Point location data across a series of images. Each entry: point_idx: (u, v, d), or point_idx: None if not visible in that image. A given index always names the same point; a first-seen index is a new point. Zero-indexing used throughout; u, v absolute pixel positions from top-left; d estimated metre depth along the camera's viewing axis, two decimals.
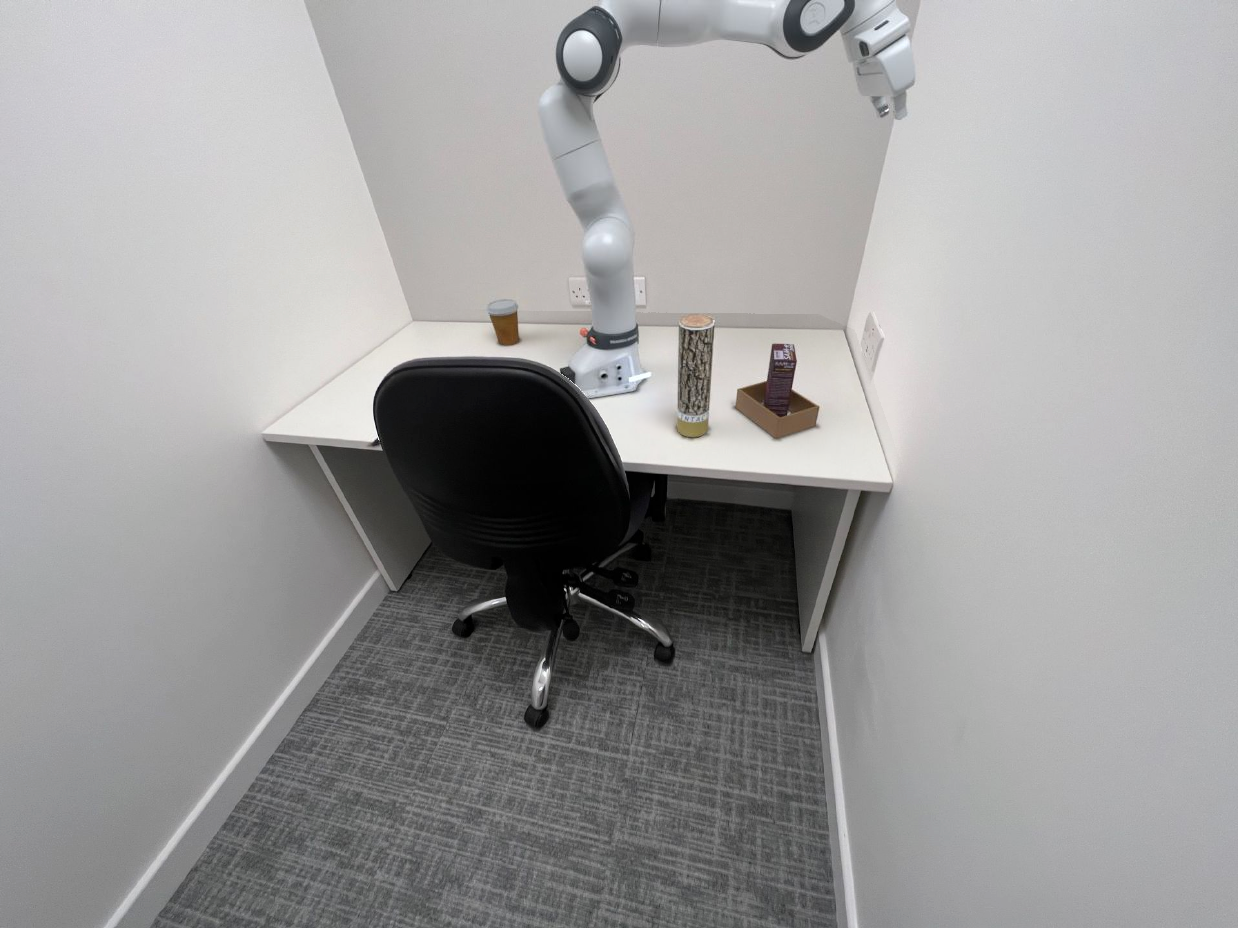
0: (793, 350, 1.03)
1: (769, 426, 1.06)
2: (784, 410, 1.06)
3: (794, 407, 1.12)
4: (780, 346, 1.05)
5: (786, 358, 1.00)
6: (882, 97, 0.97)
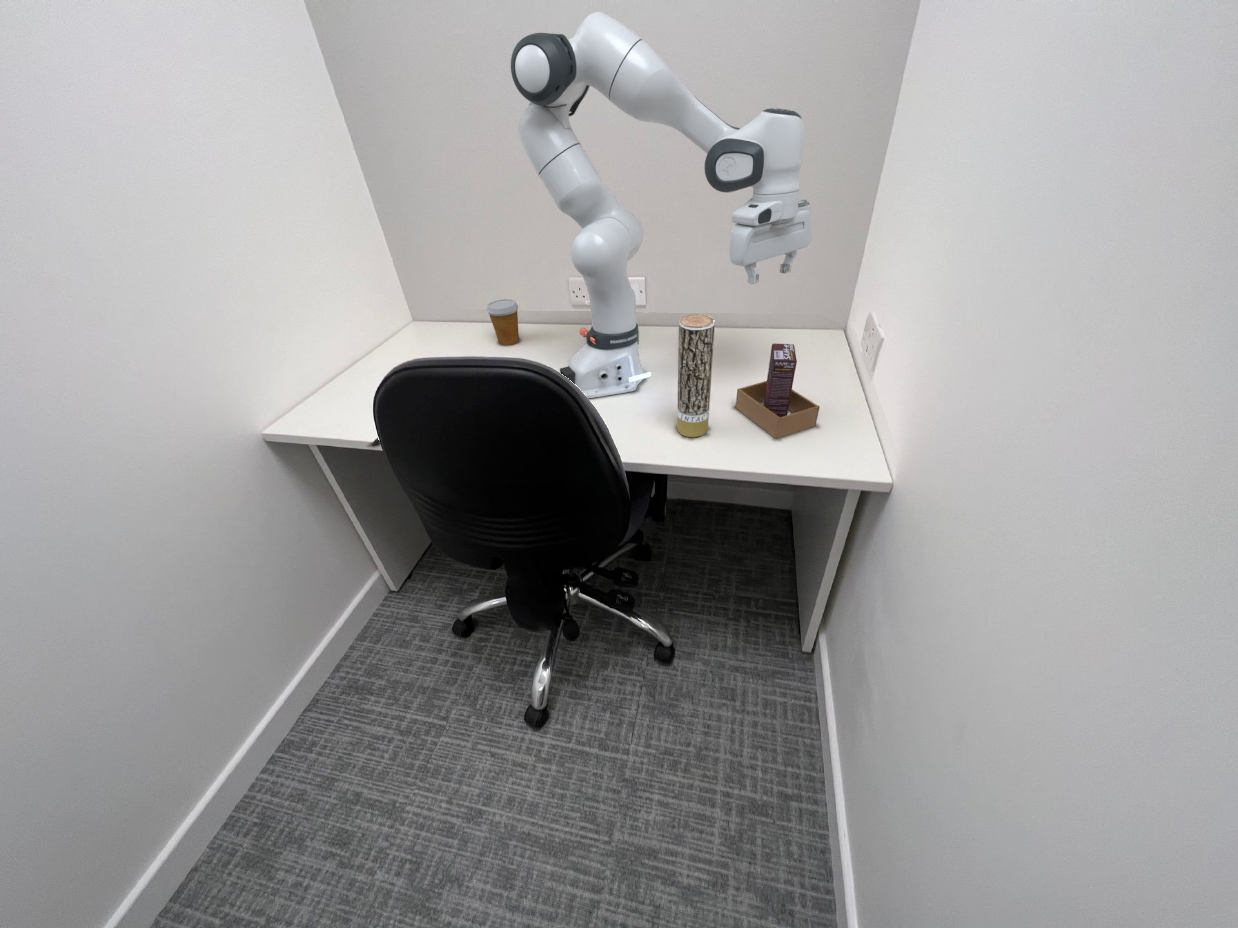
0: (793, 350, 1.03)
1: (769, 426, 1.06)
2: (784, 410, 1.06)
3: (794, 407, 1.12)
4: (780, 346, 1.05)
5: (786, 358, 1.00)
6: (791, 258, 1.07)
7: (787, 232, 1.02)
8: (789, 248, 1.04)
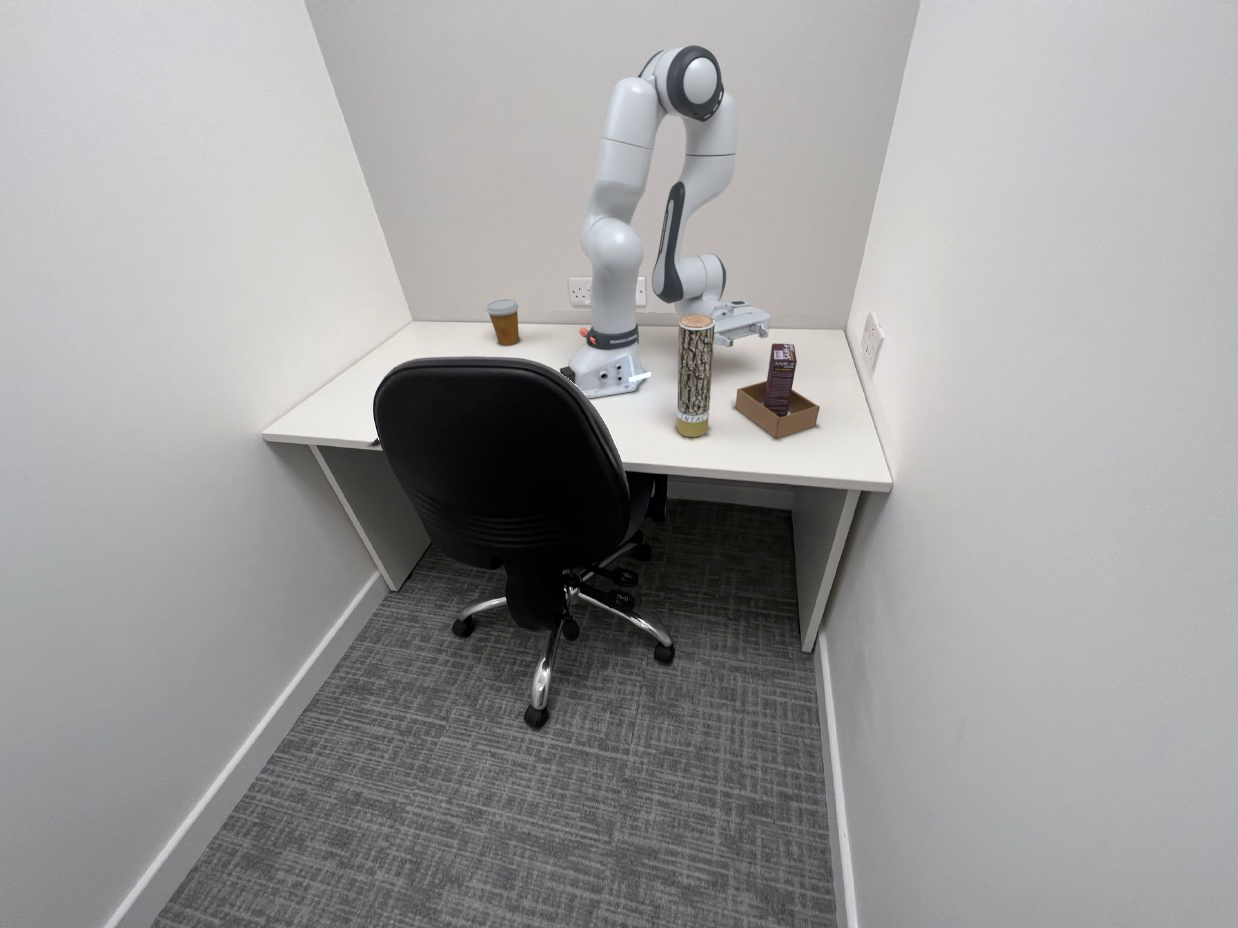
0: (793, 350, 1.03)
1: (769, 426, 1.06)
2: (784, 410, 1.06)
3: (794, 407, 1.12)
4: (780, 346, 1.05)
5: (786, 358, 1.00)
6: None
7: None
8: None
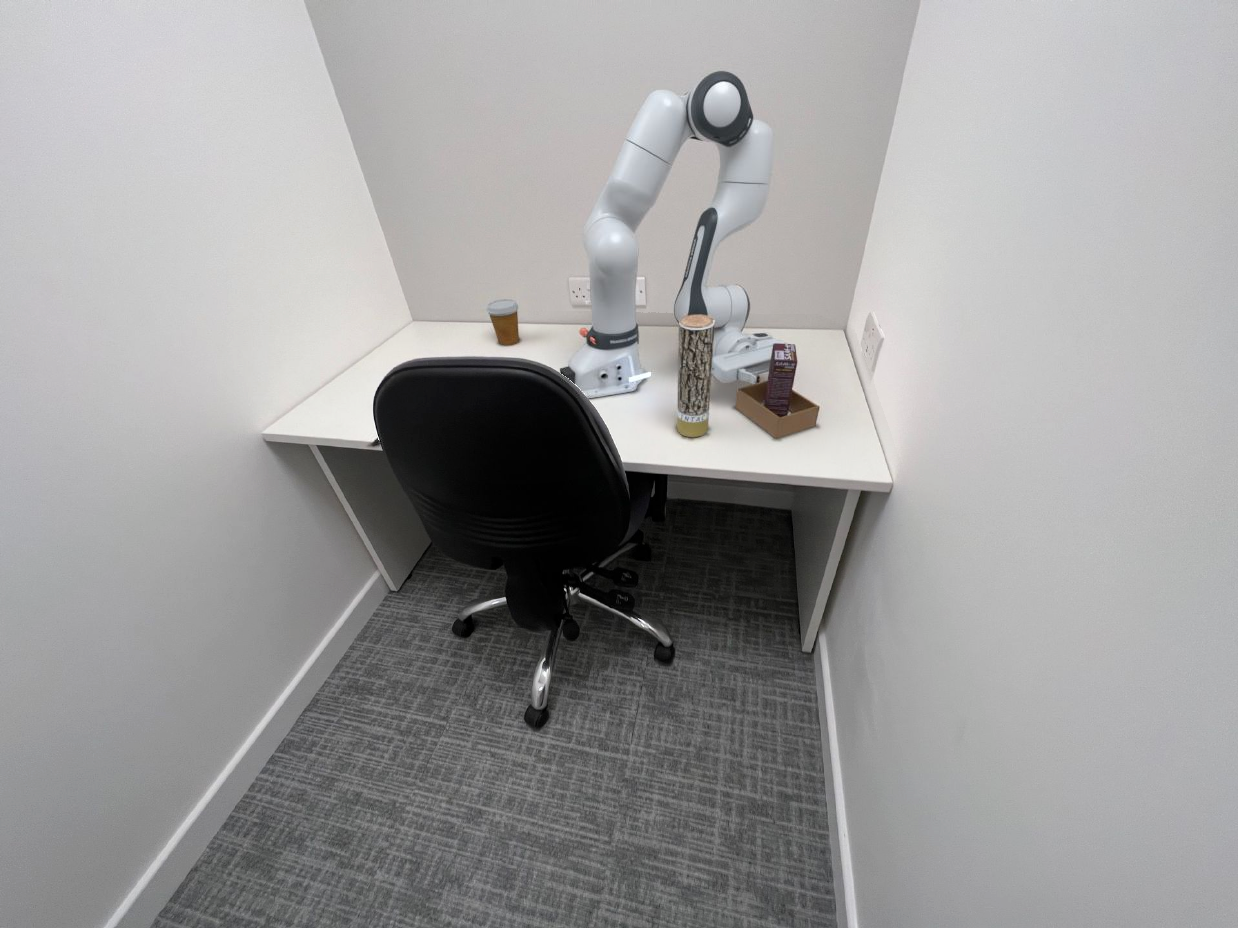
0: (794, 350, 1.03)
1: (769, 426, 1.06)
2: (784, 410, 1.06)
3: (794, 407, 1.12)
4: (781, 346, 1.05)
5: (787, 358, 1.00)
6: None
7: None
8: None
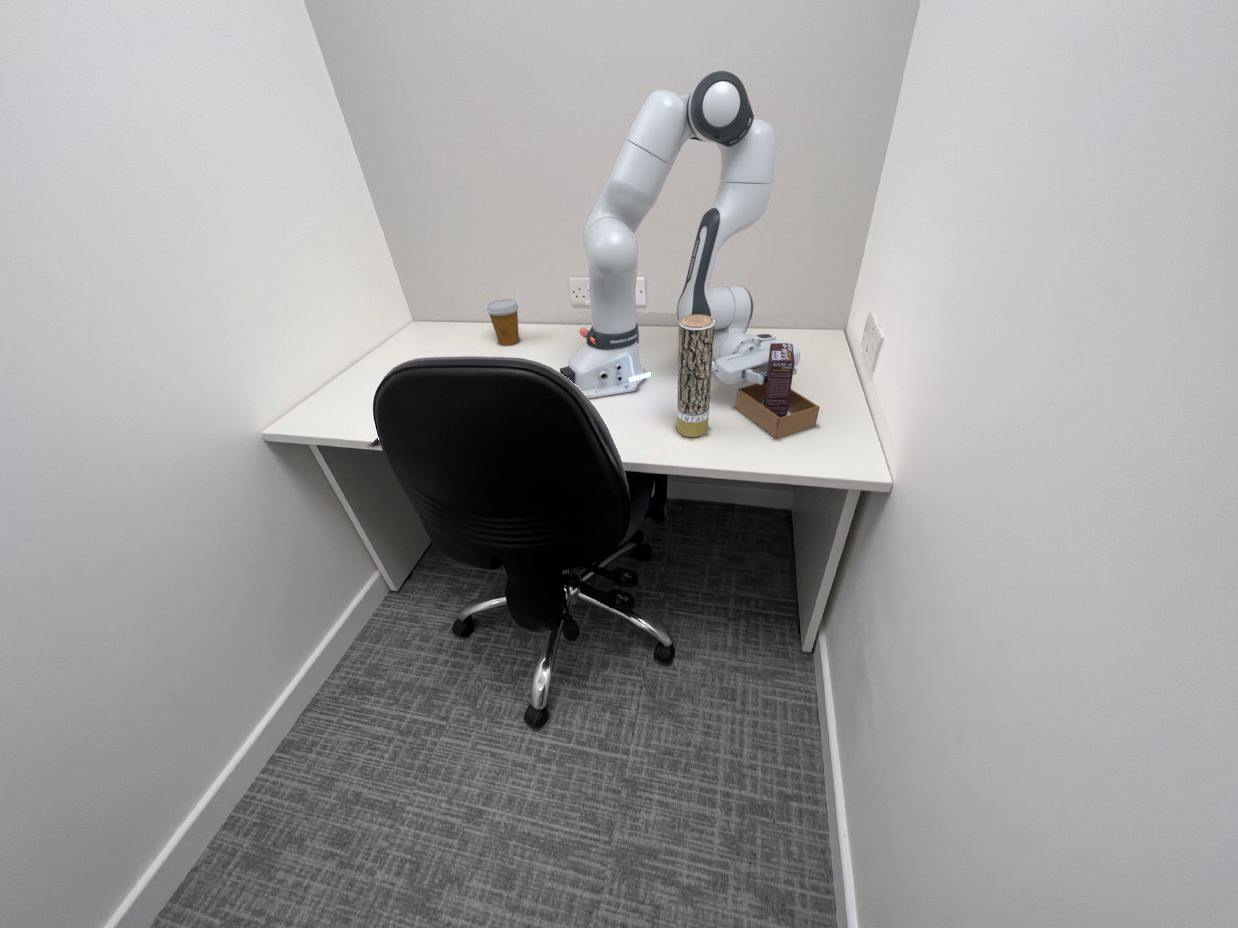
0: (791, 350, 1.03)
1: (769, 426, 1.06)
2: (784, 410, 1.06)
3: (794, 407, 1.12)
4: (778, 346, 1.04)
5: (784, 358, 1.00)
6: None
7: None
8: None
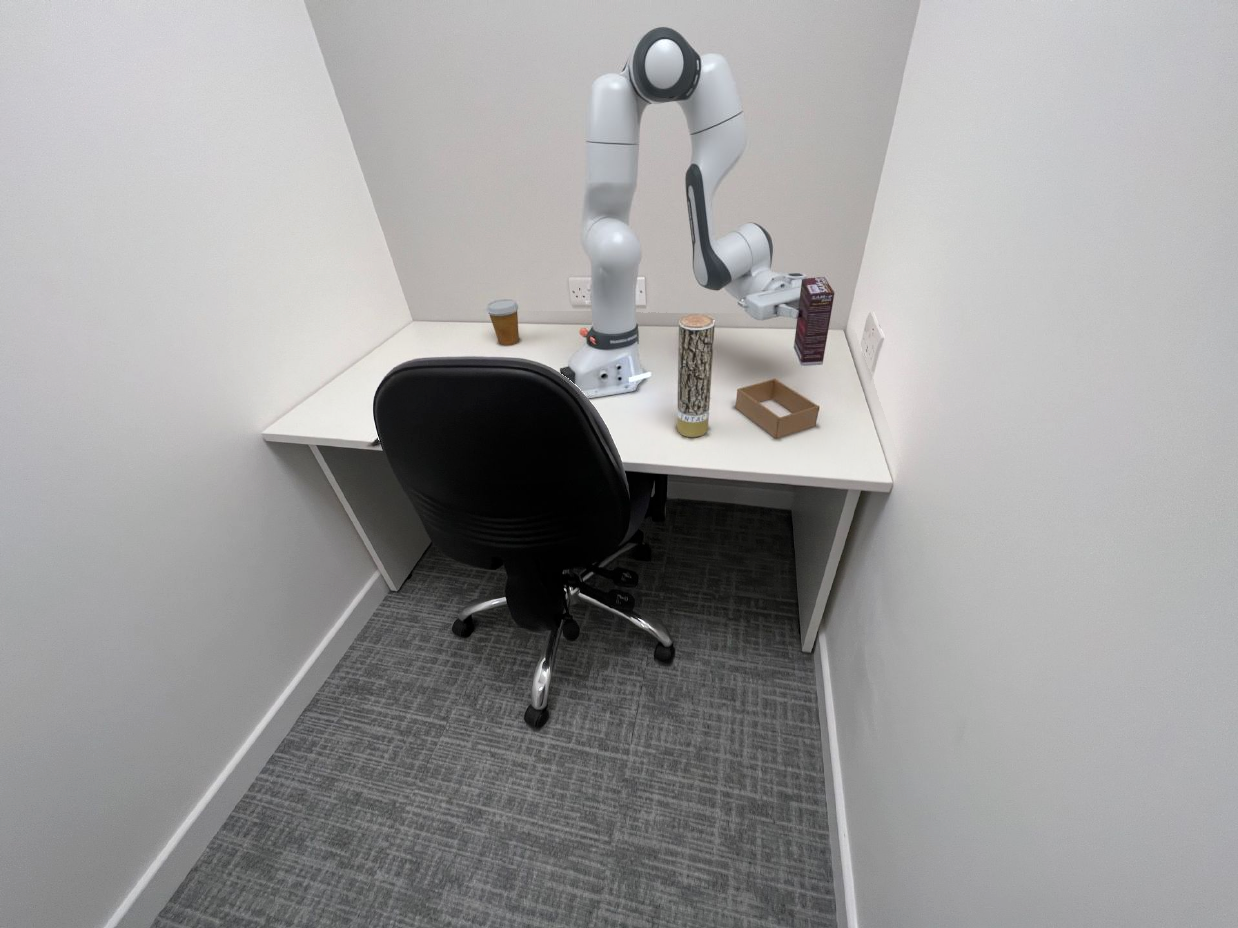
0: (826, 283, 0.99)
1: (769, 426, 1.06)
2: (822, 346, 1.03)
3: (794, 407, 1.12)
4: (811, 281, 1.01)
5: (823, 291, 0.96)
6: None
7: None
8: None
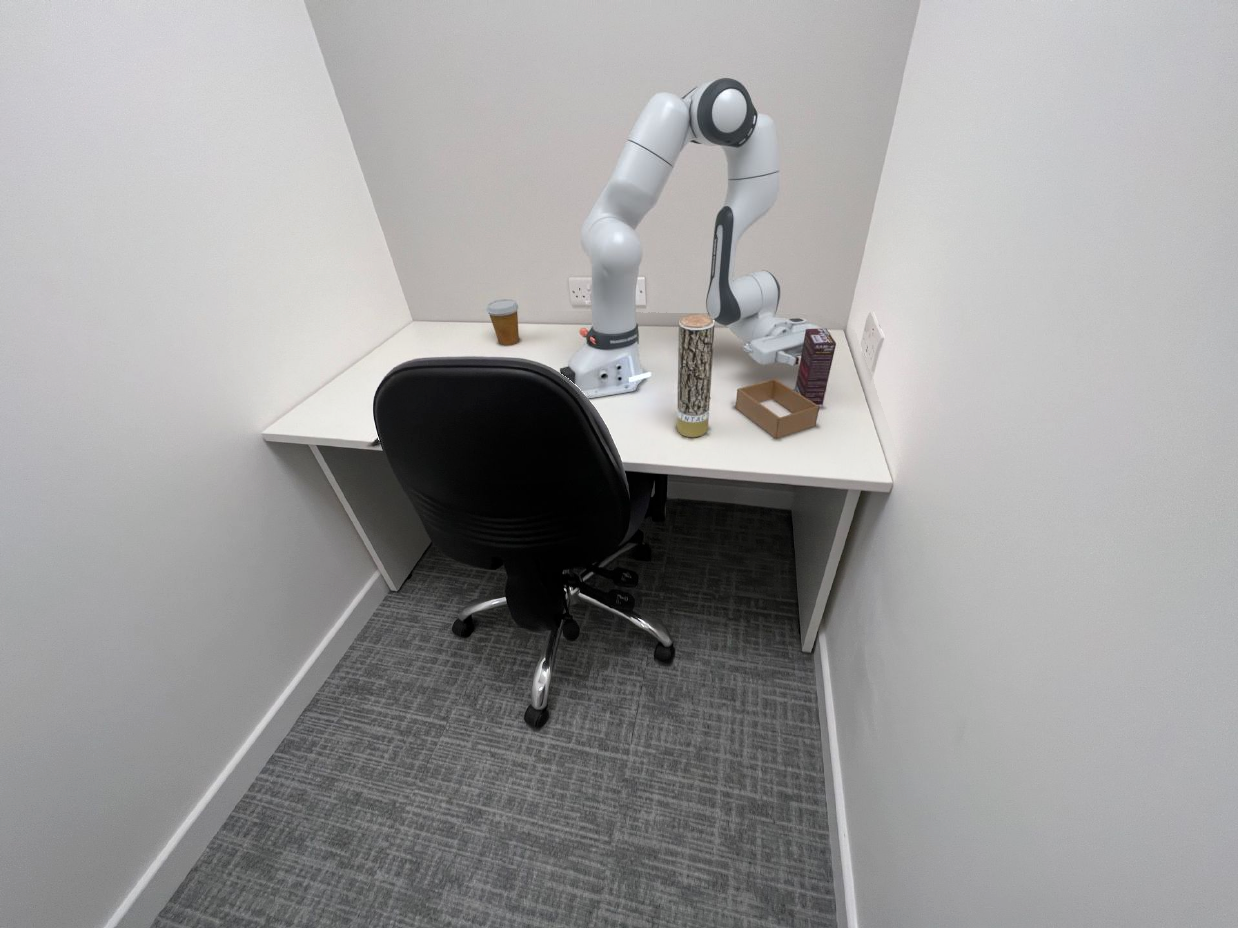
0: (828, 334, 1.09)
1: (769, 426, 1.06)
2: (822, 391, 1.12)
3: (794, 407, 1.12)
4: (815, 331, 1.10)
5: (825, 341, 1.06)
6: None
7: None
8: None
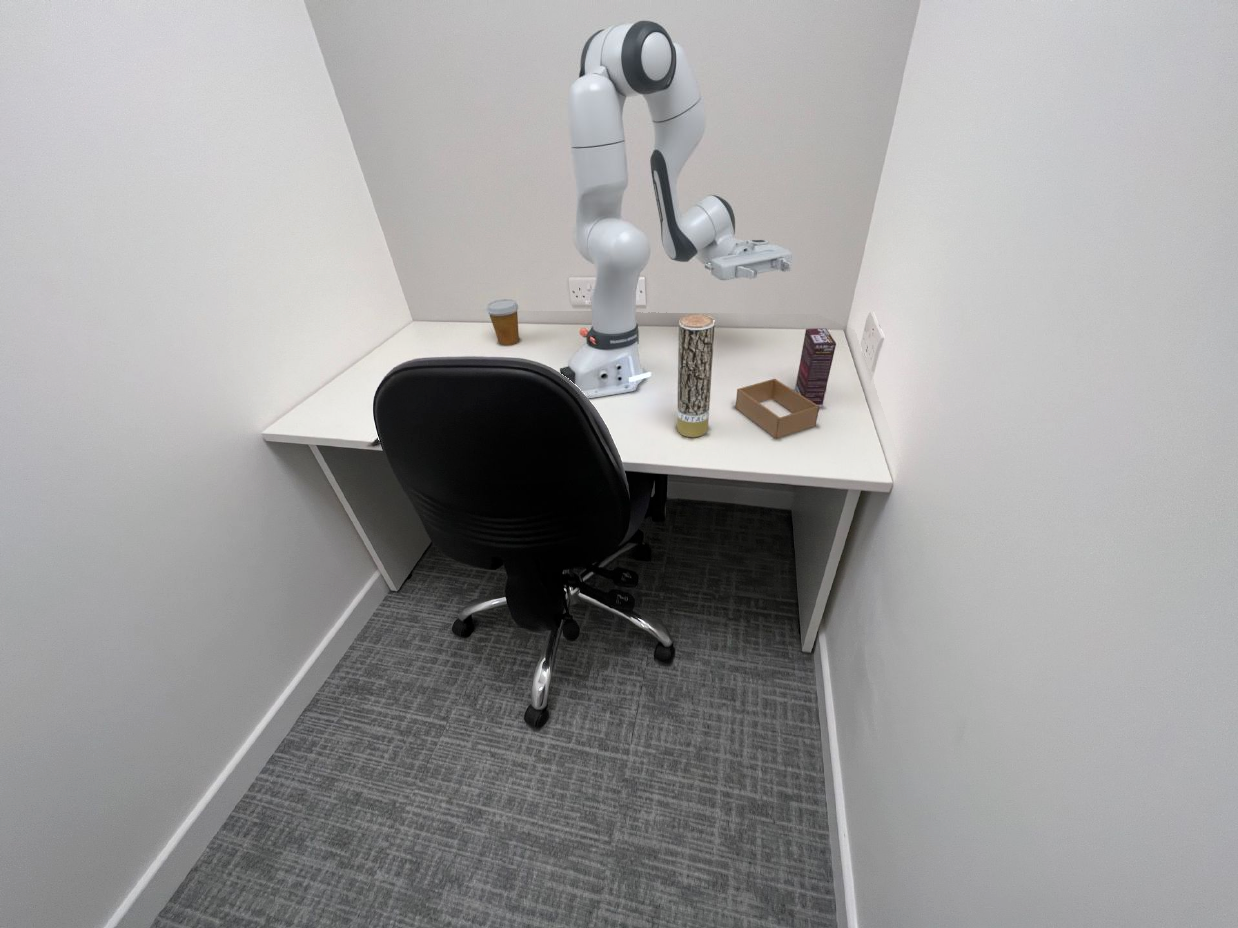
0: (828, 334, 1.09)
1: (769, 426, 1.06)
2: (822, 391, 1.12)
3: (794, 407, 1.12)
4: (815, 331, 1.10)
5: (825, 341, 1.06)
6: None
7: None
8: None
